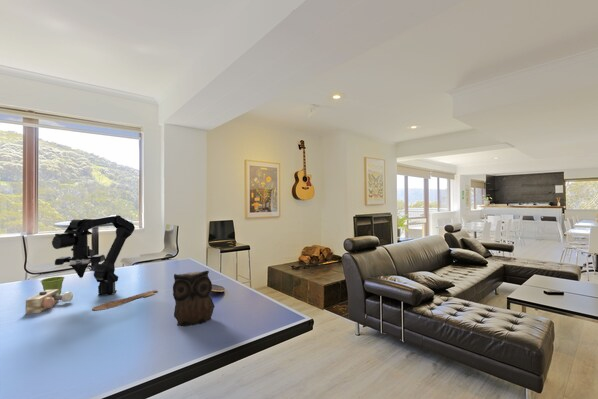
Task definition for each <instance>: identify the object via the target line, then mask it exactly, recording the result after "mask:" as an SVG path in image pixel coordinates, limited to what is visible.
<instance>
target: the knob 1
mask: <svg viewBox="0 0 598 399" xmlns="http://www.w3.org/2000/svg"><path fill="white" fill-rule="evenodd" d="M54 305H55V304H54V298H53V297H50V298H44V299H43V301H42V308H47V309H49V308H53V306H54Z"/></svg>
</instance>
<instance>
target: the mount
mask: <svg viewBox="0 0 598 399" xmlns="http://www.w3.org/2000/svg"><path fill="white" fill-rule="evenodd" d="M53 295H59V289H54V290H45V291H44V290H43V291H40V292H39V293H37V294H35V295H32V296H31V297H29V298H26V299H25V314H26V315H27V314H29V315H30V314H40V313H41V312H43V311H45V310H47V309H48V308H42V301H43V299H44V298H50V297H52V296H53ZM59 301H60V300H54V305H55V304H57V303H59Z"/></svg>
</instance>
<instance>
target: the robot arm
mask: <svg viewBox="0 0 598 399" xmlns="http://www.w3.org/2000/svg"><path fill="white" fill-rule="evenodd" d="M109 224H112V226H113V227H114V228H115V229H116V230H115V238H114V240H113V242H112V244H111V247H110V249H109V250H108V252H107V254H106V255H104V254H95V250H94V249H90V246H89V241H88V240H89V238H88V236H89V235H93V232H91V231H90V230H92V229H93V228H95V227H98V226H104V225H109ZM135 228H136V227H135V224H134V223H133V222H131V221H129V220H127V219H125V218H123V216H121V215H120V214H112V215H109V216H108V215H107V216H101V217H95V218H94V217H93V218H74V219H73V218H72V220H70V222H69V225H68V226H67V227H66V229H65V231H63V232H61V233H60V232H59V233H55V234H54V237H52V238H53V239H52V240H51V245H52V248H54V249H55V250H60V249H65V248H66V249H67V248H71V247H72V248H71V249H70V250H71V251H72V256H60V257H58V258H56V259H55V260H54V265H55V266H63V265H64V264H65V263H69V265H68V266H69V267H71V268H72V269H73V270H74V271H75V273H76V274H77V276H78V277H79V278H80V279H82V278H83V277H84V274H85V272H86V270H87V268H88V265H90V264H95V263H96V264H97V265H96V266H95V269H94V270H93V276H94V279H95V280H96V282H97V283H98V284H99V285H98V287H97V289H98V290H97V293H98V294H97V296H109V295H113V294H114V293H116V292H117V289H116V283H117V281H118V280H119V276H118V275H117V274H115V271H116V269H115V268H116V266H115V263H116V261H117V259H118V257H119V255H120V252H121V251H122V249H123V247H124V244H125V242H126V240H127V239H128V238H129V237H130V236H131V235H132V234H133V232H135ZM94 254H95V255H94Z"/></svg>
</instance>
